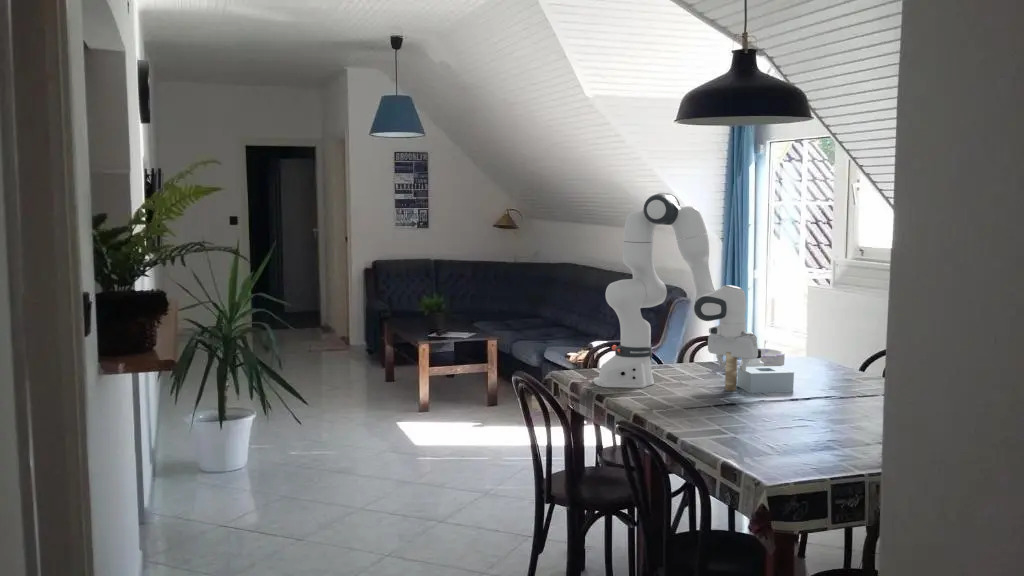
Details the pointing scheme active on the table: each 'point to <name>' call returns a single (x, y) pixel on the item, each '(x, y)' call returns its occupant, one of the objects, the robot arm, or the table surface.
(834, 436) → the table surface
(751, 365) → the medicine bottle
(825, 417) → the table surface
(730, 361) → the peg
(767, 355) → the paper bowls
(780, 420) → the table surface
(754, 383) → the socket block
